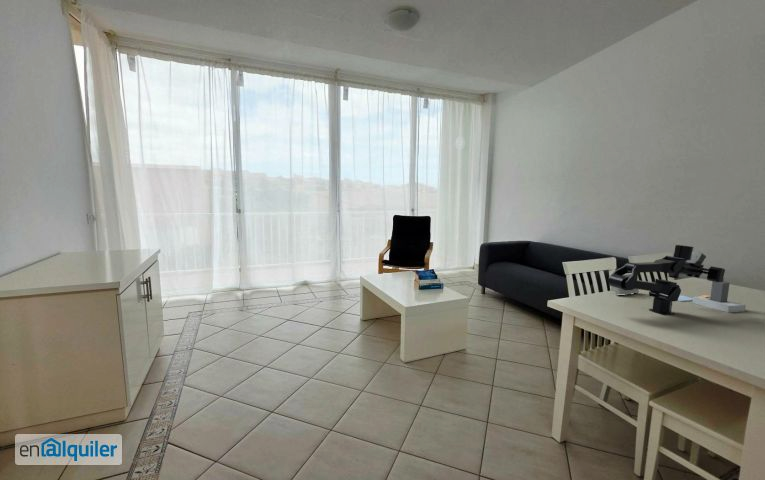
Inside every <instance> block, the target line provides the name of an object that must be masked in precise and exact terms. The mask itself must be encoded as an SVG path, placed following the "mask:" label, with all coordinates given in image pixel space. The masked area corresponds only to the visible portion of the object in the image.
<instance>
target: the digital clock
mask: <svg viewBox="0 0 765 480" xmlns="http://www.w3.org/2000/svg"><path fill="white" fill-rule="evenodd" d="M631 275H632V272H628V273H626V274H624V275H622V276H625V277H630V276H631ZM611 291H614V292H615V295H616V294H631V293H636V294H638V293H639V292H640V289H633V290H627V291H625V290H622V289H618V288H615V287H612V286H610V292H611Z"/></svg>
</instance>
